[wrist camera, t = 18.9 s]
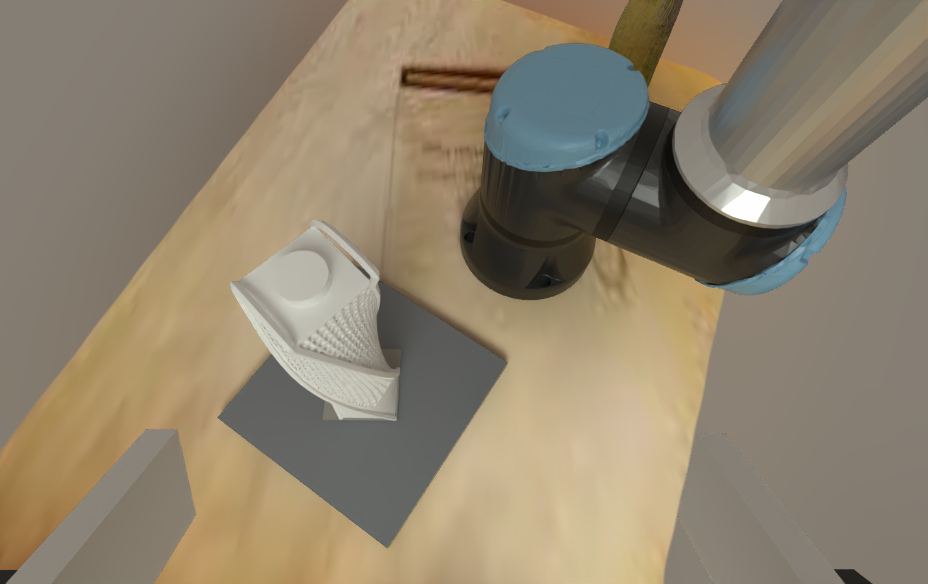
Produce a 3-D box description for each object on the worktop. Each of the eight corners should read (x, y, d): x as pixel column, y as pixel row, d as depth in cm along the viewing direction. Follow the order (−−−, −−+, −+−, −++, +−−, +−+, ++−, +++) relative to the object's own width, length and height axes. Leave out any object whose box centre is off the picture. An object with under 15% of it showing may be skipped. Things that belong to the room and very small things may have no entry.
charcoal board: (353, 268, 56) (350, 262, 55) (506, 366, 53) (507, 362, 51) (223, 420, 49) (217, 417, 48) (389, 547, 45) (387, 548, 44)
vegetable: (598, 128, 66) (657, -22, 47) (581, 92, 68) (631, -63, 50) (641, 120, 67) (715, -31, 48) (623, 85, 69) (687, -71, 51)
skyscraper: (415, 350, 51) (385, 185, 26) (412, 433, 48) (373, 337, 22) (331, 349, 51) (216, 181, 26) (322, 432, 48) (179, 335, 22)
